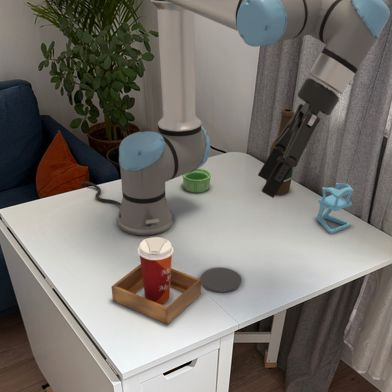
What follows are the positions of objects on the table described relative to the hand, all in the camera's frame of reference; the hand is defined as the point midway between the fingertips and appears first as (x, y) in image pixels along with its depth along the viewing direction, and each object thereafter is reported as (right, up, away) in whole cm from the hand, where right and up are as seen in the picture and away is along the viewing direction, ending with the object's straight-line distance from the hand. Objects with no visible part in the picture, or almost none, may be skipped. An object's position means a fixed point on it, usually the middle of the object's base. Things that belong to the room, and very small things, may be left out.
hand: (265, 185), depth 108 cm
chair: (+24, +1, +39) cm, 45 cm away
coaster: (-9, -18, +17) cm, 26 cm away
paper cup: (-24, -22, +12) cm, 35 cm away
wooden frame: (-24, -22, +12) cm, 34 cm away
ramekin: (-15, +17, +54) cm, 58 cm away
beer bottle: (+11, +16, +54) cm, 57 cm away
